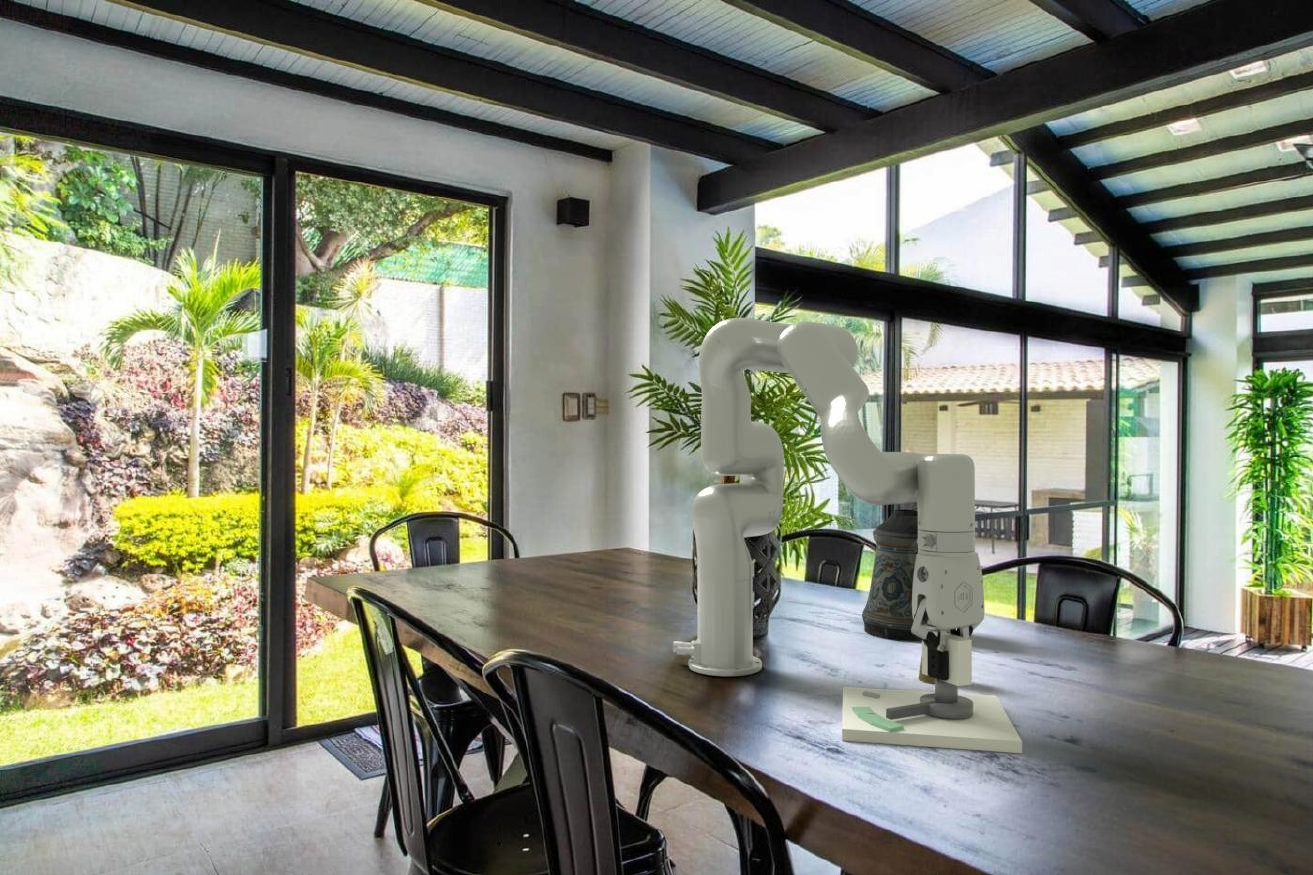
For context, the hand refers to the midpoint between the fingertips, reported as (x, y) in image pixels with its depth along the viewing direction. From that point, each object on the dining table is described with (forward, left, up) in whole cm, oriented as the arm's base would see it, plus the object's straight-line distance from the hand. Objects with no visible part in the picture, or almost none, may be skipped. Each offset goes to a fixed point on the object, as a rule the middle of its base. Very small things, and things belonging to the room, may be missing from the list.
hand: (947, 675), depth 121 cm
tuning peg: (-3, -2, -5) cm, 6 cm away
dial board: (-3, 0, -7) cm, 7 cm away
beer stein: (-1, +58, -7) cm, 59 cm away
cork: (+1, +23, -7) cm, 24 cm away
